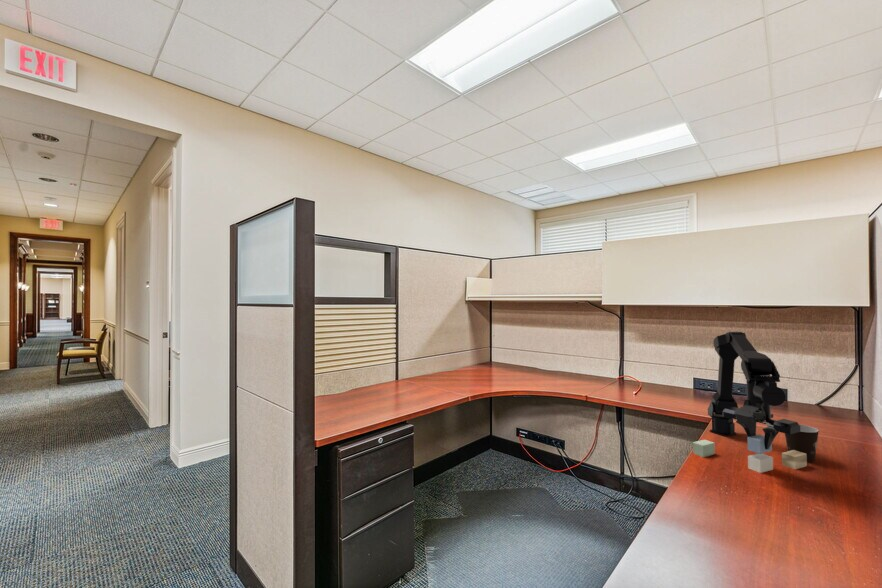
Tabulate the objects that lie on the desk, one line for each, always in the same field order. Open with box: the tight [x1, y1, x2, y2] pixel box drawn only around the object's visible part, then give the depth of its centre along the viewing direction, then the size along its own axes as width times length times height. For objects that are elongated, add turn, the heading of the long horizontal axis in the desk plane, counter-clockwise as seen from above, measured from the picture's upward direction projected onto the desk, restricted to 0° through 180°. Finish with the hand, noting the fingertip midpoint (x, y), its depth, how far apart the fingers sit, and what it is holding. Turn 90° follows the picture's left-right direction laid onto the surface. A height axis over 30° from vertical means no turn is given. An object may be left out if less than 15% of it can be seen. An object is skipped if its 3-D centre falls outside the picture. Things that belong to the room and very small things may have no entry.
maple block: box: [781, 450, 808, 470], centre depth 124 cm, size 4×6×4 cm, turn 111°
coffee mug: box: [784, 423, 819, 463], centre depth 130 cm, size 12×9×10 cm
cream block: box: [747, 453, 774, 474], centre depth 122 cm, size 4×6×4 cm, turn 110°
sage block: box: [692, 439, 716, 458], centre depth 134 cm, size 4×6×4 cm, turn 112°
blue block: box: [746, 433, 773, 454], centre depth 122 cm, size 4×6×4 cm, turn 112°
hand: (759, 447), depth 122 cm, fingers closed on blue block, 3 cm apart
